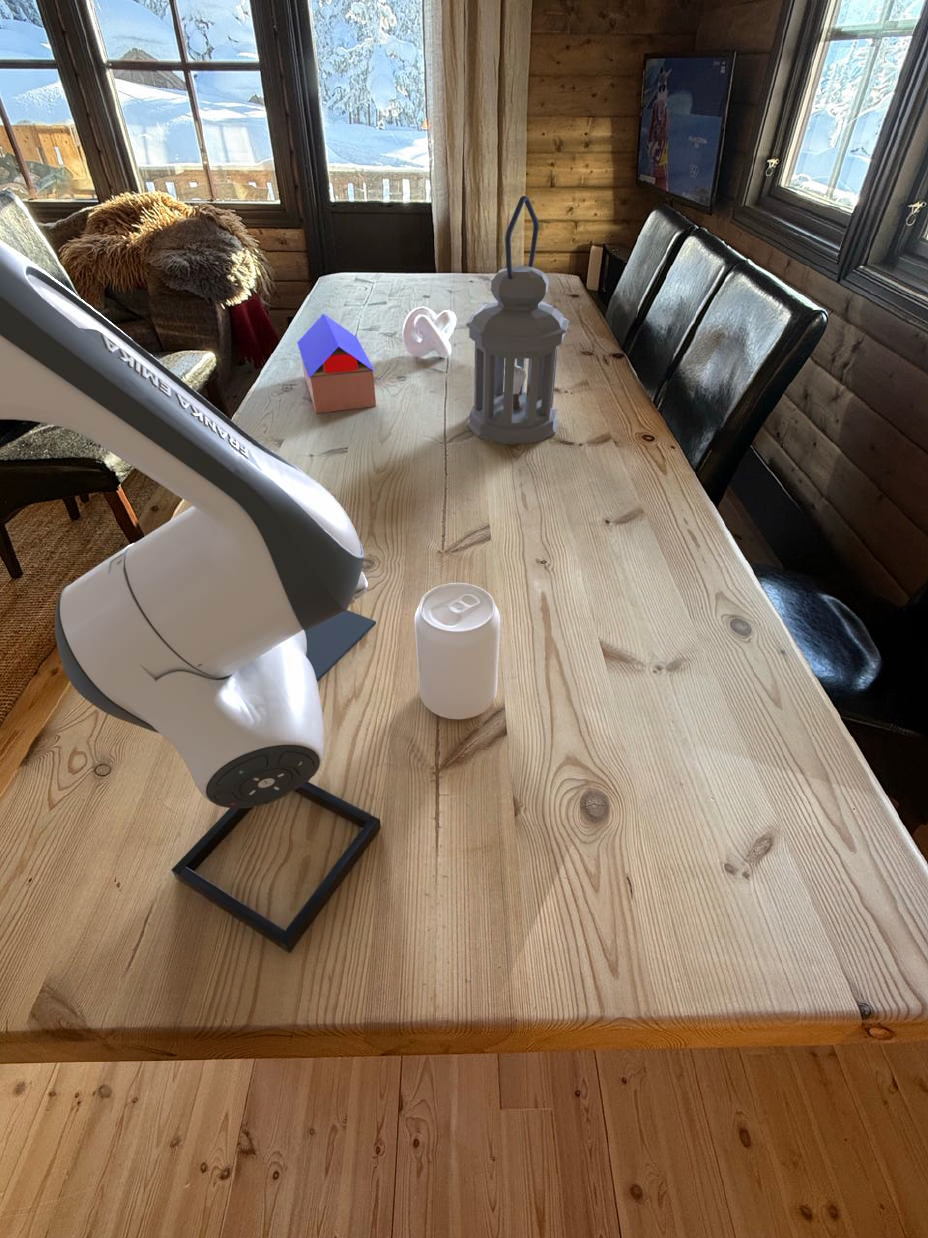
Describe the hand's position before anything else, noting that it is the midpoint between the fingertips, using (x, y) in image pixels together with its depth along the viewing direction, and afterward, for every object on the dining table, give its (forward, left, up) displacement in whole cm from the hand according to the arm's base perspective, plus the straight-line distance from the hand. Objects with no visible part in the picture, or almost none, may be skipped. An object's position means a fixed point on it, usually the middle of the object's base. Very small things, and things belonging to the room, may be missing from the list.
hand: (231, 533), depth 62 cm
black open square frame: (-17, -17, -17) cm, 29 cm away
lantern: (+68, +3, -17) cm, 70 cm away
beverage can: (+6, -21, -17) cm, 28 cm away
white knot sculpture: (+91, +34, -17) cm, 99 cm away
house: (+65, +40, -17) cm, 78 cm away
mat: (+2, +2, -17) cm, 17 cm away
